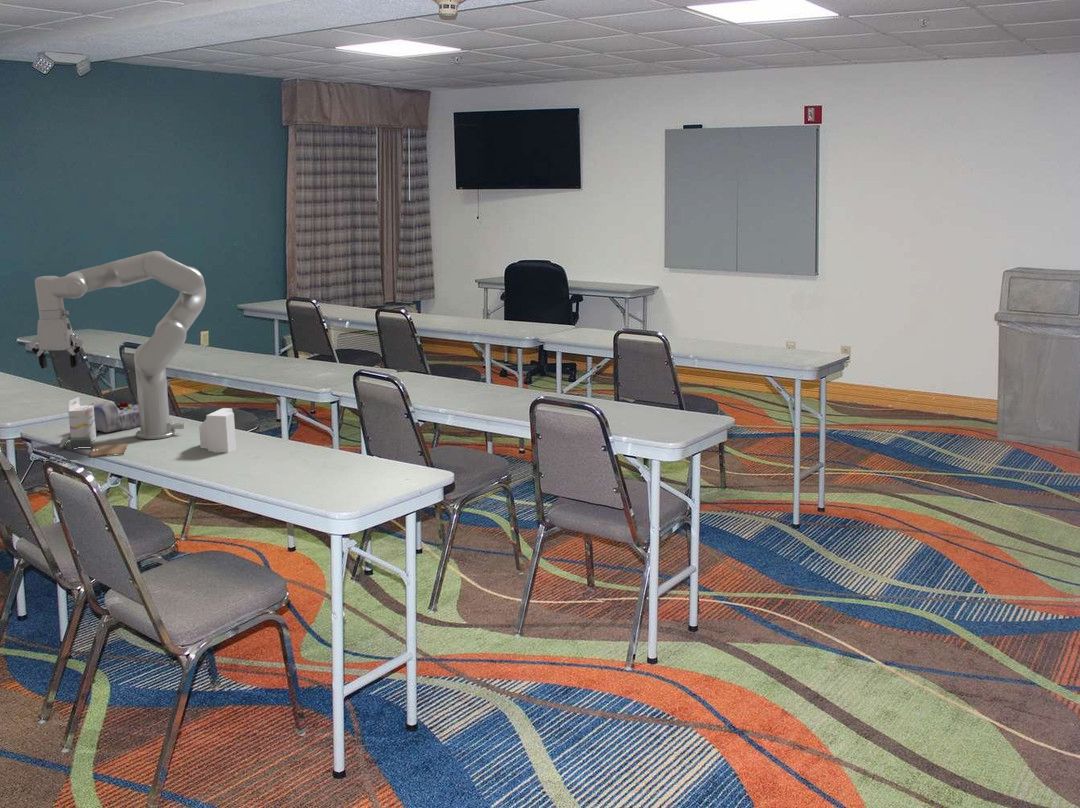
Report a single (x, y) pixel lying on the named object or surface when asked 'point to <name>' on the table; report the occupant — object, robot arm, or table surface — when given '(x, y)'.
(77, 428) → the ink box
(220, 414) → the white chunky block
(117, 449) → the walnut board
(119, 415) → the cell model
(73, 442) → the vise jaws
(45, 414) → the table surface
